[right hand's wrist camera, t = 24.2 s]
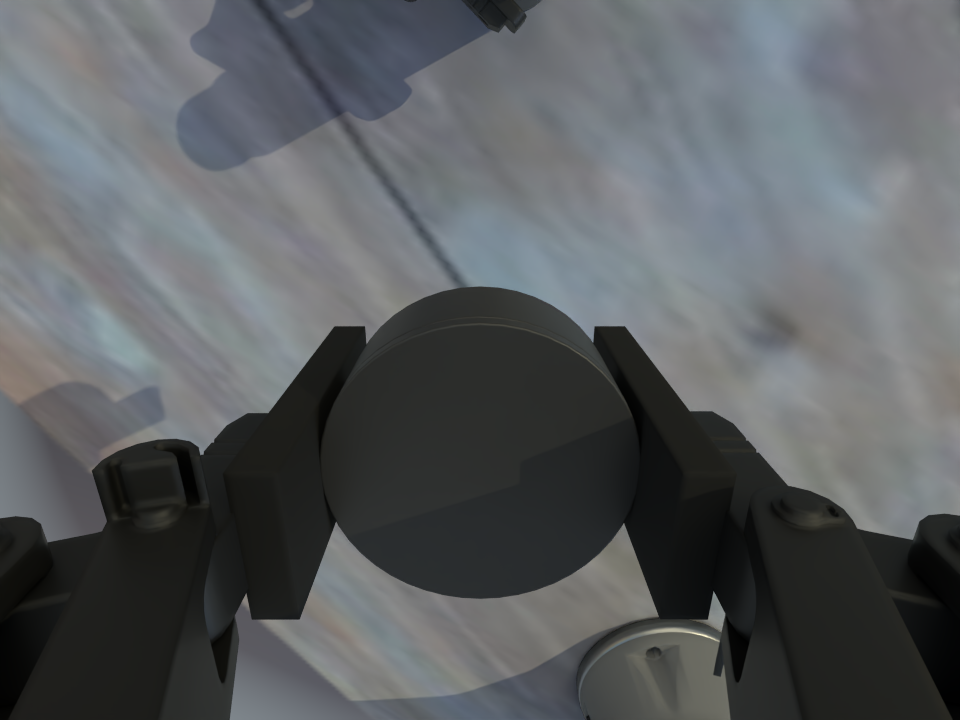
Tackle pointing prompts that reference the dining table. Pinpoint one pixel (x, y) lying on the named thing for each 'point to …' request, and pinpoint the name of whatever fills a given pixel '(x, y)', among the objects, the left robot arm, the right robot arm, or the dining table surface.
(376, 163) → the dining table surface
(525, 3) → the dark grey cylinder
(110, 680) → the right robot arm
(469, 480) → the lid
